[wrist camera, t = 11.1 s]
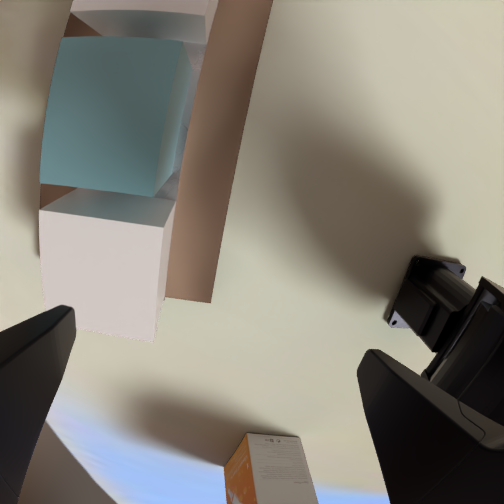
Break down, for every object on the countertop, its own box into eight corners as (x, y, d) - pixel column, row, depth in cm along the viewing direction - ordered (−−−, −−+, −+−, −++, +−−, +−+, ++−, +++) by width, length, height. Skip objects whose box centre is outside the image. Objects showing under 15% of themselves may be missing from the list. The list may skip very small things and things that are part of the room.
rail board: (276, -23, 15) (281, -32, 13) (210, 292, 22) (210, 303, 21) (99, -37, 13) (92, -46, 11) (51, 266, 20) (42, 275, 19)
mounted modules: (230, -40, 13) (237, -84, 8) (164, 294, 20) (153, 342, 15) (125, -46, 11) (104, -86, 7) (71, 278, 19) (40, 319, 14)
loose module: (192, 68, 15) (182, 41, 10) (171, 174, 17) (153, 197, 12) (106, 61, 14) (61, 37, 9) (88, 163, 16) (39, 183, 11)
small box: (245, 431, 29) (263, 546, 17) (301, 436, 30) (331, 539, 18) (221, 467, 31) (231, 564, 19) (271, 471, 33) (290, 561, 21)
